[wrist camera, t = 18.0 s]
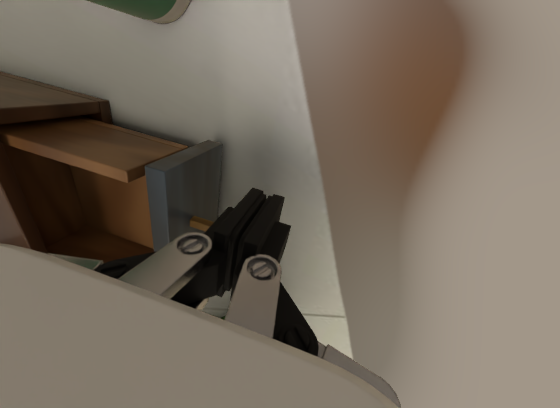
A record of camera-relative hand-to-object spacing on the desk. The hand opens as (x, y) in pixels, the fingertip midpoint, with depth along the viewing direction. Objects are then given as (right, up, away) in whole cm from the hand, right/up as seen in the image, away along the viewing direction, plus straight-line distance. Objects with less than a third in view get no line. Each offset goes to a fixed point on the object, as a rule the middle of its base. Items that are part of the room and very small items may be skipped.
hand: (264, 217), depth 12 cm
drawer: (-9, +1, +9) cm, 13 cm away
